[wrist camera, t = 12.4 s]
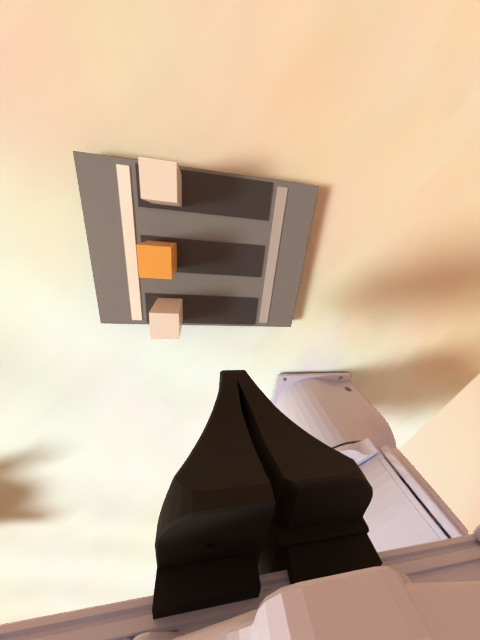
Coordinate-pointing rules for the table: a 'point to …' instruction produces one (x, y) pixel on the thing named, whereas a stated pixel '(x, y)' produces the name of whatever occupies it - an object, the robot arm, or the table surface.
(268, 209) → the panel
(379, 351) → the table surface
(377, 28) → the table surface
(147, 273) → the breaker
